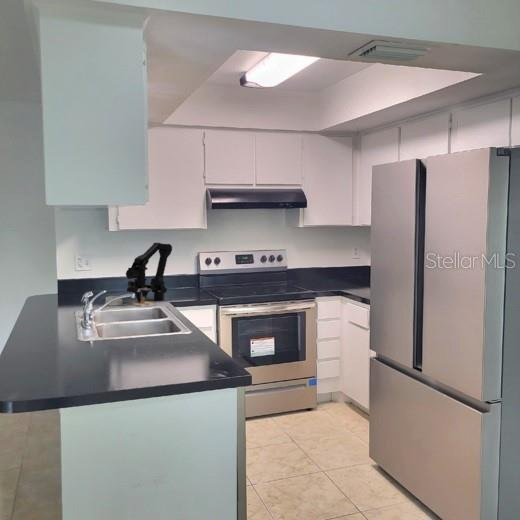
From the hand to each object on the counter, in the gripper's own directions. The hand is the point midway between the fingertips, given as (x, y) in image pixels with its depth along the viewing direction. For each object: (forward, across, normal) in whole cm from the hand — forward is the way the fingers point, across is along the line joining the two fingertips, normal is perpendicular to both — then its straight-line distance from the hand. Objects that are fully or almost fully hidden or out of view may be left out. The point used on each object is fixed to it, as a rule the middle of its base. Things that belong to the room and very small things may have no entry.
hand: (141, 301), depth 329 cm
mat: (+2, 0, 0) cm, 2 cm away
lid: (+2, 0, 0) cm, 2 cm away
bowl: (+2, +10, -14) cm, 17 cm away
